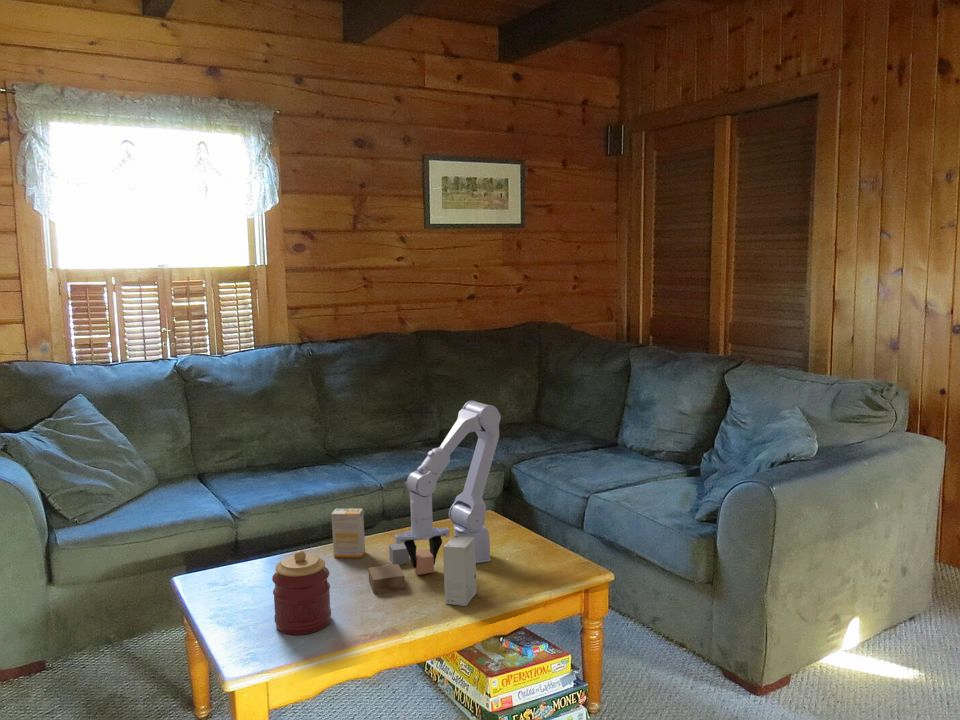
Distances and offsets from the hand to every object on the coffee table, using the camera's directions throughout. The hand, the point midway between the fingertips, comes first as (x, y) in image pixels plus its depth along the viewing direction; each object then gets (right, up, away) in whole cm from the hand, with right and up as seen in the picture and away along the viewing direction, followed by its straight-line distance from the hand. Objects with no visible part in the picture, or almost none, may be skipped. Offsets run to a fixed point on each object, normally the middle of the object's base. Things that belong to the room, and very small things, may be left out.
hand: (423, 565), depth 216 cm
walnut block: (-9, -4, -7) cm, 12 cm away
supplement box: (-22, -1, +14) cm, 26 cm away
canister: (-26, -7, -27) cm, 38 cm away
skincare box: (+10, -5, -15) cm, 19 cm away
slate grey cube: (-7, -1, +8) cm, 11 cm away
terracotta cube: (0, -1, 0) cm, 1 cm away
